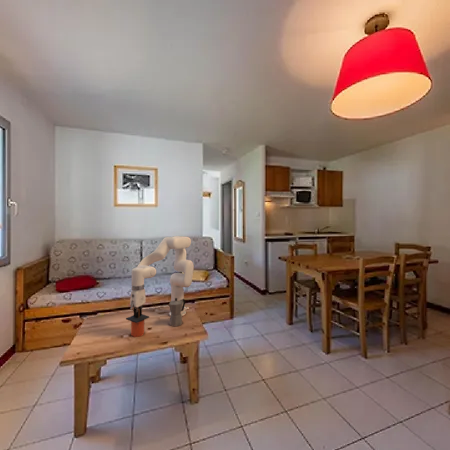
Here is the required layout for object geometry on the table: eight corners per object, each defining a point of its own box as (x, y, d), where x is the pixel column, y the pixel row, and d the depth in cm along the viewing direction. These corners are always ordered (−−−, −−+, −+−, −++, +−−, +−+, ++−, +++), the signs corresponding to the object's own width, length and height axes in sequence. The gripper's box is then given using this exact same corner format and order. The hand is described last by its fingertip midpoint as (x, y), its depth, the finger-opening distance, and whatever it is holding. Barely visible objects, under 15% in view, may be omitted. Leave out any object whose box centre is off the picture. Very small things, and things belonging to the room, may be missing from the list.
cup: (141, 329, 160) (141, 316, 160) (146, 334, 154) (146, 319, 154) (129, 333, 155) (129, 319, 155) (134, 338, 149) (134, 323, 149)
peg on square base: (139, 314, 161) (139, 305, 161) (149, 317, 156) (149, 308, 156) (125, 319, 153) (125, 310, 153) (136, 323, 147) (136, 313, 147)
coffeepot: (173, 329, 162) (173, 302, 161) (164, 325, 167) (164, 299, 167) (189, 321, 174) (189, 296, 174) (180, 318, 180) (180, 293, 179)
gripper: (134, 291, 145) (134, 322, 145) (150, 284, 161) (150, 312, 161) (124, 290, 147) (124, 320, 148) (140, 284, 163) (140, 311, 163)
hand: (137, 316), depth 154 cm, fingers closed on peg on square base, 2 cm apart
